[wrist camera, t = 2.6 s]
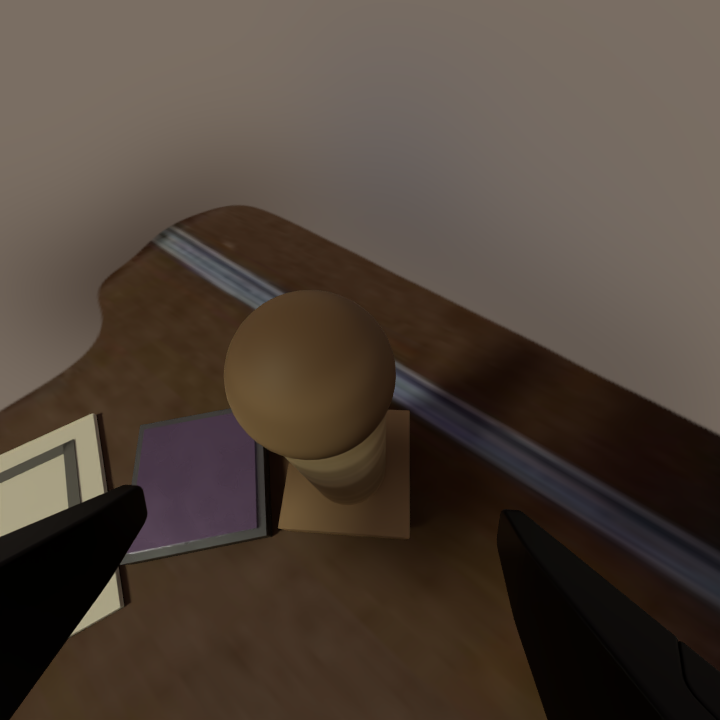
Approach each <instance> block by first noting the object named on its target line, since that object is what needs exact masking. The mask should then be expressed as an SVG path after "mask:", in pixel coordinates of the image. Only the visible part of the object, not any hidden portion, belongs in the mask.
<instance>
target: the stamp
mask: <svg viewBox="0 0 720 720" xmlns="http://www.w3.org/2000/svg"><path fill="white" fill-rule="evenodd" d="M395 380H396V372H395V360H394V356H393V352H392V349H391V346H390V343H389V341H388V338H387V336H386V335H385V333H384V331H383V329H382V328H381V327H380V325H379V324H378V322H377V321H376V320H375V319H374V318H373V317H372V316H371V315H370V314H369V313H368V312H367V311H366V310H365V309H364V308H362V307H361V306H360V305H358V304H357V303H355V302H353V301H352V300H350V299H348V298H345V297H343V296H340V295H338V294H335V293H331V292H327V291H320V290H301V291H294V292H290V293H286V294H283V295H280V296H277V297H275V298H273V299H271V300H269V301H267V302H266V303H264V304H262V305H261V306H260V307H258V308H257V309H256V310H254V311H253V312H252V313H251V314H250V315H249V316H248V317H247V318H246V319H245V320H244V321H243V323H242V324H241V325H240V327H239V328H238V330H237V331H236V333H235V335H234V337H233V339H232V341H231V343H230V346H229V348H228V351H227V356H226V360H225V367H224V383H225V391H226V396H227V400H228V402H229V405H230V407H231V410H232V412H233V415H234V416H235V418H236V420H237V421H238V423H239V424H240V425H241V427H242V428H243V429H244V430H245V431H246V433H247V434H248V435H249V436H250V437H251V438H252V439H254V440H255V441H256V442H257V443H258V444H260V445H262V446H263V447H265V448H266V449H268V450H270V451H272V452H274V453H276V454H279V455H281V456H284V457H285V458H286V459H287V460H288V461H289V465H288V471H287V477H286V483H285V489H284V495H283V501H282V507H281V513H280V519H279V525H278V528H279V529H283V530H287V531H292V532H305V533H319V534H332V535H345V536H359V537H372V538H386V539H399V540H408V539H409V538H410V411H408V410H388V409H389V406H390V404H391V401H392V397H393V393H394V388H395Z"/></svg>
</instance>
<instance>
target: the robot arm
mask: <svg viewBox="0 0 720 720" xmlns="http://www.w3.org/2000/svg"><path fill="white" fill-rule="evenodd" d="M147 514H148V512H147V506H146V501H145V496H144V491H143V489H142V487H140V486H138V485H122V486H120V487H118V488H115V489H113V490H110V491H108V492H106V493H103V494H101V495H98V496H96V497H94V498H91V499H89V500H87V501H84V502H82V503H79V504H77V505H75V506H72V507H70V508H68V509H65V510H63V511H60V512H58V513H56V514H53V515H51V516H49V517H46V518H44V519H41V520H39V521H37V522H34V523H32V524H29V525H27V526H25V527H22V528H20V529H18V530H15V531H13V532H10V533H8V534H6V535H3V536H1V537H0V720H10V718H11V717H12V716H13V714H14V713H15V711H16V710H17V709H18V707H19V706H20V705H21V703H22V702H23V700H24V699H25V698H26V696H27V695H28V693H29V692H30V691H31V689H32V688H33V687H34V685H35V684H36V682H37V681H38V680H39V678H40V677H41V676H42V674H43V673H44V671H45V670H46V669H47V667H48V666H49V664H50V663H51V662H52V660H53V659H54V658H55V656H56V655H57V653H58V652H59V651H60V649H61V648H62V646H63V645H64V644H65V642H66V641H67V640H68V638H69V637H70V635H71V634H72V633H73V631H74V630H75V628H76V627H77V626H78V624H79V623H80V622H81V620H82V619H83V617H84V616H85V615H86V613H87V612H88V611H89V609H90V608H91V606H92V605H93V604H94V602H95V601H96V599H97V598H98V597H99V595H100V594H101V593H102V591H103V590H104V588H105V587H106V585H107V584H108V582H109V581H110V579H111V578H112V576H113V575H114V573H115V571H116V570H117V568H118V567H119V565H120V563H121V562H122V560H123V558H124V557H125V555H126V553H127V552H128V550H129V548H130V547H131V545H132V543H133V542H134V540H135V539H136V537H137V535H138V534H139V532H140V530H141V529H142V527H143V525H144V524H145V522H146V519H147ZM497 547H498V552H499V557H500V561H501V565H502V570H503V574H504V578H505V583H506V587H507V592H508V596H509V600H510V605H511V609H512V613H513V617H514V620H515V624H516V627H517V630H518V633H519V636H520V639H521V642H522V645H523V648H524V651H525V654H526V657H527V660H528V663H529V666H530V669H531V672H532V675H533V678H534V681H535V684H536V687H537V690H538V693H539V696H540V699H541V702H542V705H543V708H544V711H545V714H546V716H547V719H548V720H720V672H719V671H718V670H717V669H715V668H714V667H713V666H712V665H710V664H709V663H708V662H707V661H705V660H704V659H703V658H702V657H700V656H699V655H698V654H697V653H696V652H694V651H693V650H692V649H691V648H689V647H688V646H687V645H686V644H684V643H683V642H681V641H679V642H678V639H677V638H676V636H674V635H673V634H672V633H671V632H669V631H668V630H667V629H666V628H664V627H663V626H662V625H661V624H660V623H658V622H657V621H656V620H655V619H653V618H652V617H651V616H650V615H648V614H647V613H646V612H645V611H644V610H642V609H641V608H640V607H639V606H637V605H636V604H635V603H634V602H632V601H631V600H630V599H629V598H628V597H626V596H625V595H624V594H623V593H621V592H620V591H619V590H618V589H616V588H615V587H614V586H613V585H612V584H610V583H609V582H608V581H607V580H605V579H604V578H603V577H602V576H600V575H599V574H598V573H597V572H596V571H594V570H593V569H592V568H591V567H589V566H588V565H587V564H586V563H584V562H583V561H582V560H581V559H579V558H578V557H577V556H576V555H575V554H573V553H572V552H571V551H570V550H568V549H567V548H566V547H565V546H563V545H562V544H561V543H560V542H559V541H557V540H556V539H555V538H554V537H552V536H551V535H550V534H549V533H547V532H546V531H545V530H544V529H543V528H541V527H540V526H539V525H538V524H536V523H535V522H534V521H533V520H531V519H530V518H529V517H528V516H527V515H525V514H524V513H523V512H521V511H519V510H507V509H504V510H502V511H501V514H500V520H499V527H498V534H497Z"/></svg>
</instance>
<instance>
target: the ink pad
mask: <svg viewBox="0 0 720 720" xmlns="http://www.w3.org/2000/svg"><path fill="white" fill-rule="evenodd" d="M132 485H138V486H140V487H142V489H143V491H144V496H145V501H146V506H147V512H148V514H147V519H146V522H145V524H144V525H143V527H142V529H141V530H140V532H139V534H138V535H137V537H136V539H135V540H134V542H133V543H132V545H131V547H130V548H129V550H128V552H127V553H126V555H125V557H124V558H123V560H122V562H121V563H120V565H130V564H138V563H143V562H148V561H153V560H158V559H163V558H168V557H173V556H178V555H182V554H187V553H192V552H197V551H202V550H207V549H212V548H217V547H222V546H227V545H232V544H237V543H242V542H247V541H252V540H257V539H262V538H267V537H272V521H271V498H270V476H269V454H268V449H266V448H265V447H263V446H262V445H260V444H258V443H257V442H256V441H255V440H254V439H252V438H251V437H250V436H249V435H248V434H247V433H246V431H245V430H244V429H243V428H242V427H241V425H240V424H239V423H238V421H237V420H236V418H235V416H234V415H233V412H232V410H231V409H225V410H220V411H214V412H209V413H204V414H198V415H193V416H188V417H182V418H177V419H172V420H166V421H161V422H155V423H150V424H145V425H140V431H139V438H138V445H137V451H136V458H135V465H134V472H133V479H132Z"/></svg>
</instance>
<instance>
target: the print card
mask: <svg viewBox="0 0 720 720" xmlns="http://www.w3.org/2000/svg"><path fill="white" fill-rule="evenodd" d="M106 492H108V491H107V484H106V477H105V470H104V464H103V457H102V450H101V443H100V436H99V429H98V422H97V416H96V415H95V414H93V413H92V414H90V415H88V416H86V417H83V418H81V419H79V420H77V421H75V422H72V423H70V424H68V425H66V426H64V427H61V428H59V429H57V430H55V431H53V432H50V433H48V434H46V435H44V436H42V437H39V438H37V439H35V440H33V441H30V442H28V443H26V444H24V445H22V446H19V447H17V448H15V449H13V450H11V451H8V452H6V453H4V454H2V455H0V537H1V536H3V535H6V534H8V533H10V532H13V531H15V530H18V529H20V528H22V527H25V526H27V525H29V524H32V523H34V522H37V521H39V520H41V519H44V518H46V517H49V516H51V515H53V514H56V513H58V512H60V511H63V510H65V509H68V508H70V507H72V506H75V505H77V504H79V503H82V502H84V501H87V500H89V499H91V498H94V497H96V496H98V495H101V494H103V493H106ZM123 607H124V600H123V594H122V587H121V580H120V573H119V567H118V568H117V570H116V571H115V573H114V575H113V576H112V578H111V579H110V581H109V582H108V584H107V585H106V587H105V588H104V590H103V591H102V593H101V594H100V595H99V597H98V598H97V599H96V601H95V602H94V604H93V605H92V606H91V608H90V609H89V611H88V612H87V613H86V615H85V616H84V617H83V619H82V620H81V622H80V623H79V624H78V626H77V627H76V628H75V630H74V631H73V633H72V634H71V635H70V637H72V636H73V635H75V634H77V633H79V632H81V631H82V630H84V629H86V628H88V627H89V626H91V625H93V624H95V623H97V622H98V621H100V620H102V619H104V618H105V617H107V616H109V615H111V614H113V613H114V612H116V611H118V610H120V609H121V608H123ZM70 637H69V638H70Z"/></svg>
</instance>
